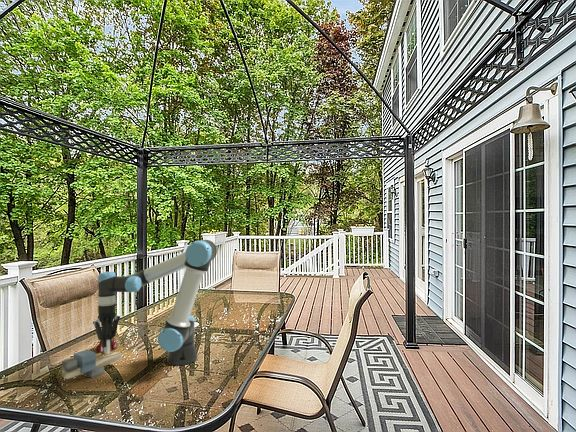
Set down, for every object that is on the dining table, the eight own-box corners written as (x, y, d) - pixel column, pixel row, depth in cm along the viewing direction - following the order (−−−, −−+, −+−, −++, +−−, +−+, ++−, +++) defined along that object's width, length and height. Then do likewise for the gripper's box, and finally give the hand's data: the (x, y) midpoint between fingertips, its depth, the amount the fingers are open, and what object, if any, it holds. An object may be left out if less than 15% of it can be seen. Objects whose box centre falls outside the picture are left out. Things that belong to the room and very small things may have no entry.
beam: (123, 366, 175) (123, 345, 175) (68, 386, 153) (69, 363, 153) (115, 363, 179) (115, 343, 179) (60, 383, 157) (60, 360, 157)
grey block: (95, 368, 163) (95, 352, 163) (82, 373, 158) (82, 356, 158) (86, 365, 167) (86, 349, 167) (73, 369, 162) (73, 353, 162)
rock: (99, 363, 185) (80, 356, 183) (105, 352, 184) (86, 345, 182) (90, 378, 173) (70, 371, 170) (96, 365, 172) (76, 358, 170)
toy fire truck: (93, 354, 191) (93, 335, 191) (108, 346, 203) (108, 328, 203) (104, 355, 190) (105, 335, 190) (119, 347, 202) (119, 329, 202)
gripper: (114, 300, 179) (114, 347, 179) (89, 306, 168) (89, 356, 167) (123, 302, 175) (123, 350, 175) (98, 308, 164) (98, 359, 164)
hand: (106, 353), depth 171 cm, fingers closed
